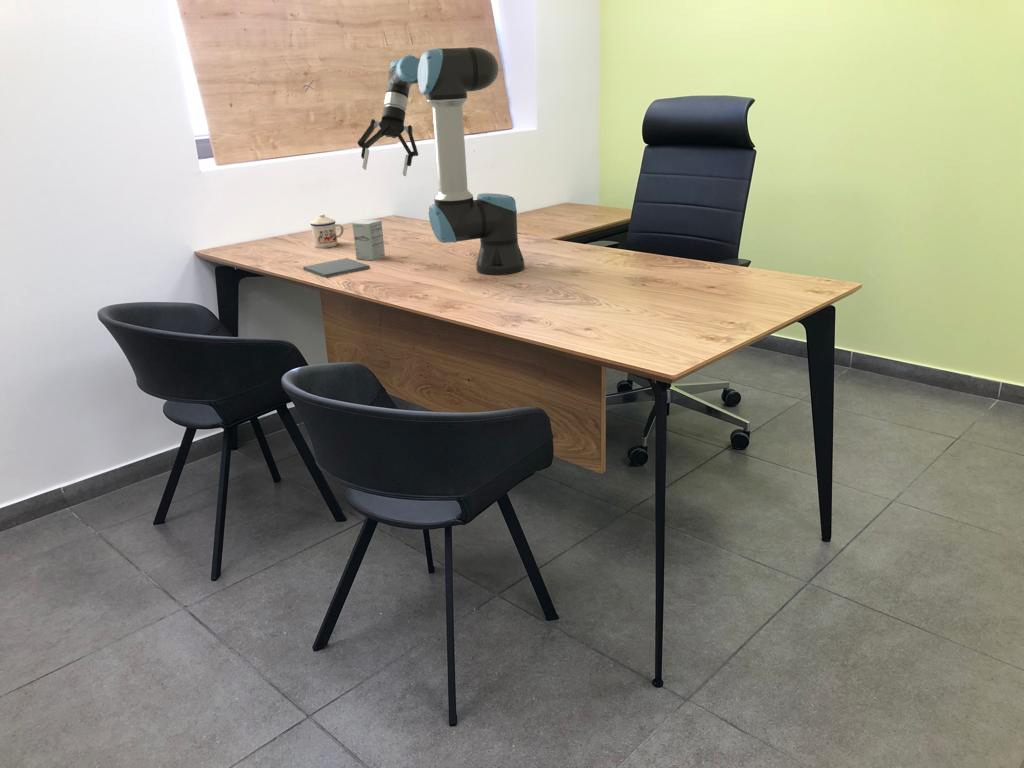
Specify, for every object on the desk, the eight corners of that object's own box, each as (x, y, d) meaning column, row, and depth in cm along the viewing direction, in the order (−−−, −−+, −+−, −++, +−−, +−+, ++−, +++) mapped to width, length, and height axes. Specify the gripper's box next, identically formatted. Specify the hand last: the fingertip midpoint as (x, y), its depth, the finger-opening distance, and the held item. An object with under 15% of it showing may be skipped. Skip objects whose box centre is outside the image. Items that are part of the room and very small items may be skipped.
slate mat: (369, 268, 264) (369, 265, 264) (324, 277, 255) (324, 274, 255) (347, 260, 276) (346, 258, 276) (303, 269, 267) (303, 266, 267)
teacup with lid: (318, 249, 296) (313, 217, 292) (310, 245, 304) (306, 214, 300) (349, 244, 302) (345, 213, 298) (340, 240, 309) (336, 210, 305)
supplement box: (355, 259, 278) (351, 222, 273) (368, 254, 284) (364, 218, 279) (373, 260, 274) (368, 223, 270) (385, 256, 280) (382, 219, 276)
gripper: (432, 118, 274) (422, 180, 274) (360, 107, 274) (349, 168, 274) (430, 111, 266) (419, 174, 266) (355, 99, 267) (345, 162, 266)
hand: (384, 171), depth 270 cm, fingers open, 13 cm apart
